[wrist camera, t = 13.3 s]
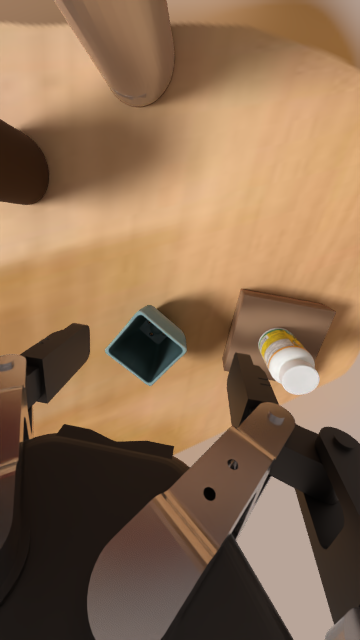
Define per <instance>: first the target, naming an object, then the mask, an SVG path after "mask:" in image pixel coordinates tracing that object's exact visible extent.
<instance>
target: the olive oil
mask: <svg viewBox="0 0 360 640" xmlns="http://www.w3.org/2000/svg"><path fill="white" fill-rule="evenodd" d="M48 181H49V172H48V166H47V162H46V160H45V157H44V155H43V153H42V151H41V150H40V148H39V147H38V146H37V144H36V143H35V142H34V141H33V140H32V139H31V138H29V137H28V136H26V135H25V134H23V133H22V132H20V131H19V130H17V129H15V128H14V127H12V126H10V125H9V124H7V123H5V122H4V121H2V120H1V119H0V201H1V202H8V203H15V204H23V205H28V204H33V203H35V202H37V201H39V200H40V199H41V198H42V197H43V195H44V194H45V192H46V190H47V186H48Z"/></svg>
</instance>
